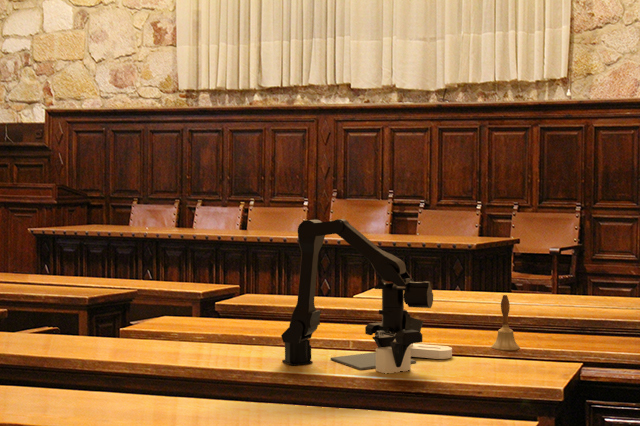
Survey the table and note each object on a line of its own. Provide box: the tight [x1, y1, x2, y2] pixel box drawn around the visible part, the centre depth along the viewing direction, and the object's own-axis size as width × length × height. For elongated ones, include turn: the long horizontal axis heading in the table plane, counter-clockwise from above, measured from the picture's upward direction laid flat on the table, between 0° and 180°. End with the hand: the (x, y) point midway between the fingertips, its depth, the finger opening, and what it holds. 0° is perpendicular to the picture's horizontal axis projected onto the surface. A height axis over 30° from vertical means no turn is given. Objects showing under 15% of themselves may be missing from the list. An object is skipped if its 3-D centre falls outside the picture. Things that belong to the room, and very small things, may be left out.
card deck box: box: [375, 346, 412, 375], centre depth 214 cm, size 8×4×6 cm, turn 119°
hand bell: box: [491, 294, 521, 351], centre depth 245 cm, size 8×8×16 cm
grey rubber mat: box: [330, 351, 417, 371], centre depth 226 cm, size 18×16×1 cm
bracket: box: [393, 333, 453, 360], centre depth 234 cm, size 20×9×7 cm, turn 71°
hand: (393, 365), depth 214 cm, fingers closed on card deck box, 4 cm apart
